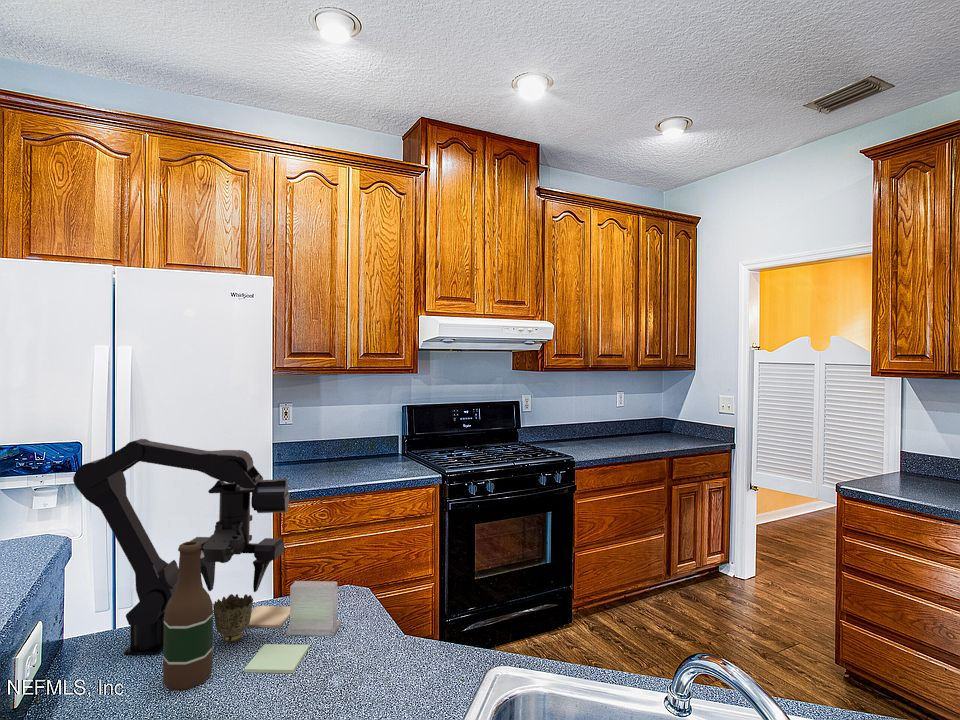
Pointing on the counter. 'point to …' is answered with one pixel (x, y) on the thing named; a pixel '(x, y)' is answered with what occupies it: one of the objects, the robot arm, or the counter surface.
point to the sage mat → (277, 658)
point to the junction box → (313, 608)
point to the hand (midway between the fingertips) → (233, 590)
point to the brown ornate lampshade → (232, 616)
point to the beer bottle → (188, 625)
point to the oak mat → (269, 616)
